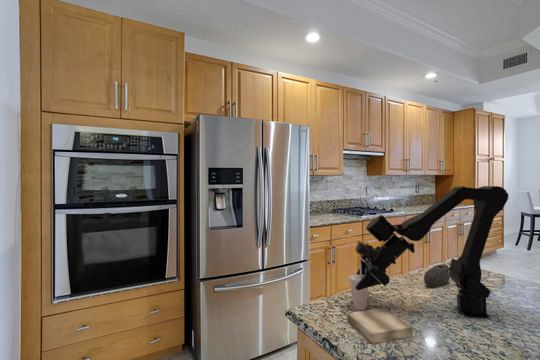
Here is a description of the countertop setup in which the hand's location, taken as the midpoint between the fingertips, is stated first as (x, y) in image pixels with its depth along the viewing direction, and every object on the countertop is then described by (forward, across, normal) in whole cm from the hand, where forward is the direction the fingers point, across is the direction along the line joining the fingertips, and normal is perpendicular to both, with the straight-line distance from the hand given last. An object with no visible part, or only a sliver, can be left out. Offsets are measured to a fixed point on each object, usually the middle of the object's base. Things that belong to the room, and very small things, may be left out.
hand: (354, 285), depth 92 cm
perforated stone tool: (-19, -25, +29) cm, 43 cm away
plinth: (+2, +13, +8) cm, 16 cm away
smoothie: (+4, 0, +6) cm, 7 cm away
